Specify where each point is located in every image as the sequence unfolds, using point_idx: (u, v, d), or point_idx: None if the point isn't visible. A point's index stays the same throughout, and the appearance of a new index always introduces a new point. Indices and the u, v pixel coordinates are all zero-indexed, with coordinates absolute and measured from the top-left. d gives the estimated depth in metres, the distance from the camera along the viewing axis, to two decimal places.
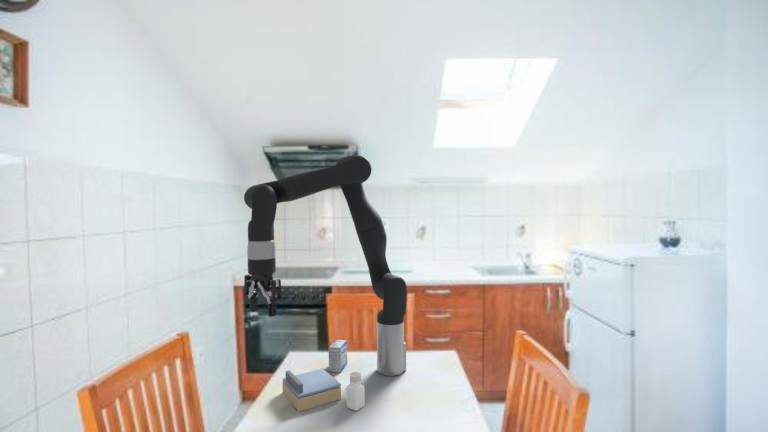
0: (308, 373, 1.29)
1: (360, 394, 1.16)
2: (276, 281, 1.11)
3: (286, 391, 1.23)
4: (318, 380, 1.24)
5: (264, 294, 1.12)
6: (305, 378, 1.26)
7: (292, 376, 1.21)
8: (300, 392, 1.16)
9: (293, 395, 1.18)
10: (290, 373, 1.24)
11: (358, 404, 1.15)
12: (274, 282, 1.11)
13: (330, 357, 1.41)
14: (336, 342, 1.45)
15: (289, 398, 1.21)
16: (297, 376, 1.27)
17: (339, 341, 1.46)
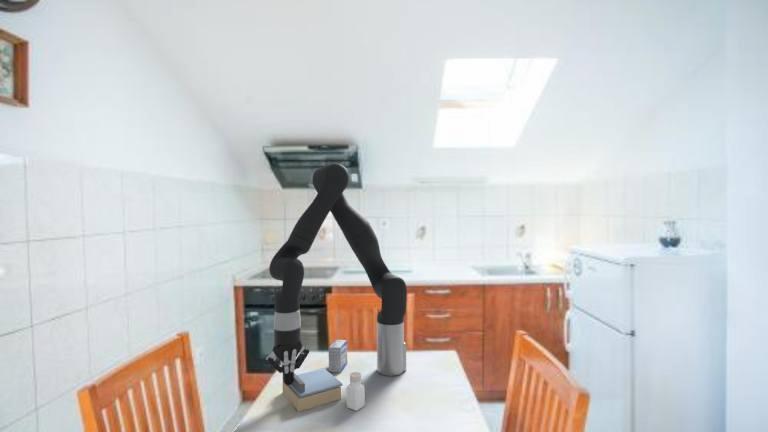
0: (310, 373, 1.30)
1: (360, 394, 1.16)
2: None
3: (286, 391, 1.23)
4: (320, 380, 1.25)
5: (293, 362, 1.19)
6: (307, 378, 1.26)
7: (294, 376, 1.22)
8: (302, 391, 1.17)
9: (293, 395, 1.18)
10: None
11: (358, 404, 1.15)
12: None
13: (330, 357, 1.41)
14: (336, 342, 1.45)
15: (289, 398, 1.21)
16: (299, 376, 1.27)
17: (339, 341, 1.46)
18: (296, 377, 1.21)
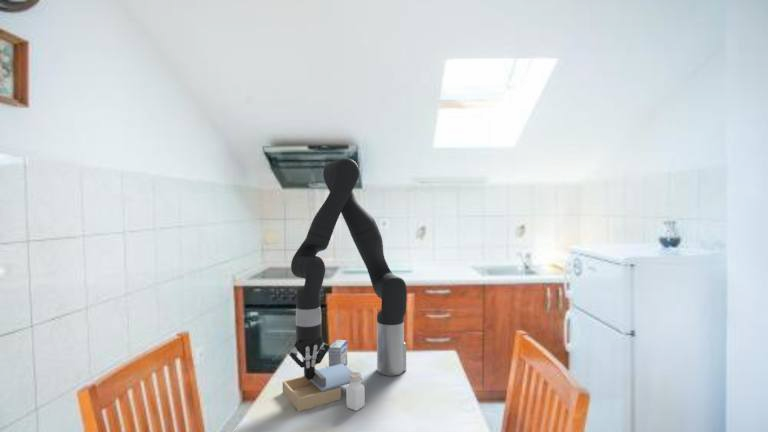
0: (329, 368, 1.33)
1: (360, 394, 1.16)
2: None
3: (286, 391, 1.23)
4: (339, 374, 1.28)
5: (314, 357, 1.22)
6: (327, 373, 1.29)
7: (315, 370, 1.25)
8: (323, 386, 1.20)
9: (293, 395, 1.18)
10: None
11: (358, 404, 1.15)
12: None
13: (330, 357, 1.41)
14: (336, 342, 1.45)
15: (289, 398, 1.21)
16: (318, 371, 1.31)
17: (339, 341, 1.46)
18: (317, 372, 1.24)
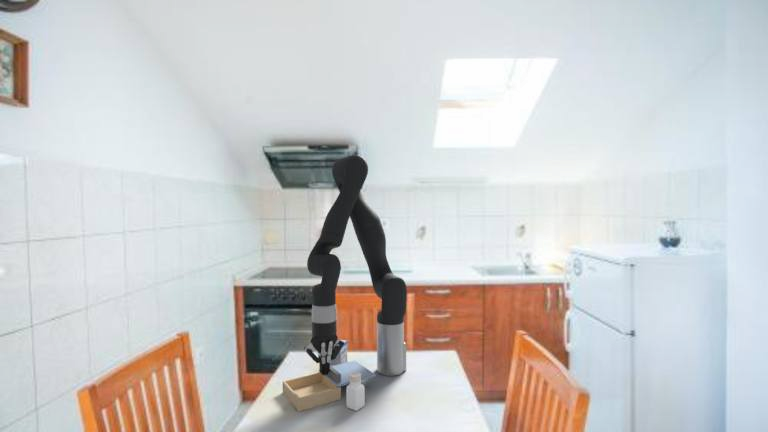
0: (342, 364, 1.36)
1: (360, 394, 1.16)
2: None
3: (286, 391, 1.23)
4: (353, 371, 1.31)
5: (330, 353, 1.25)
6: (341, 369, 1.32)
7: None
8: (338, 382, 1.23)
9: (293, 395, 1.18)
10: None
11: (358, 404, 1.15)
12: None
13: None
14: None
15: (289, 398, 1.21)
16: (332, 367, 1.34)
17: None
18: (331, 368, 1.27)
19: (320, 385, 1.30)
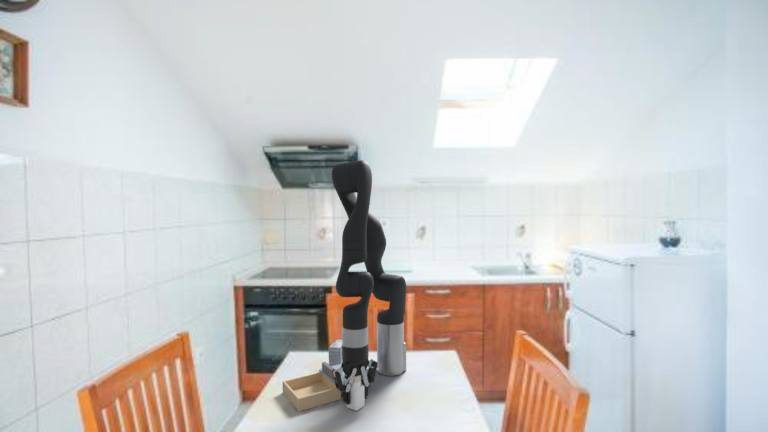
0: None
1: (360, 394, 1.16)
2: None
3: (286, 391, 1.23)
4: None
5: (365, 378, 1.17)
6: None
7: (329, 367, 1.28)
8: None
9: (293, 395, 1.18)
10: (327, 364, 1.30)
11: (358, 404, 1.15)
12: None
13: (330, 357, 1.41)
14: (336, 342, 1.45)
15: (289, 398, 1.21)
16: (332, 367, 1.34)
17: (339, 341, 1.46)
18: (331, 368, 1.27)
19: (320, 385, 1.30)
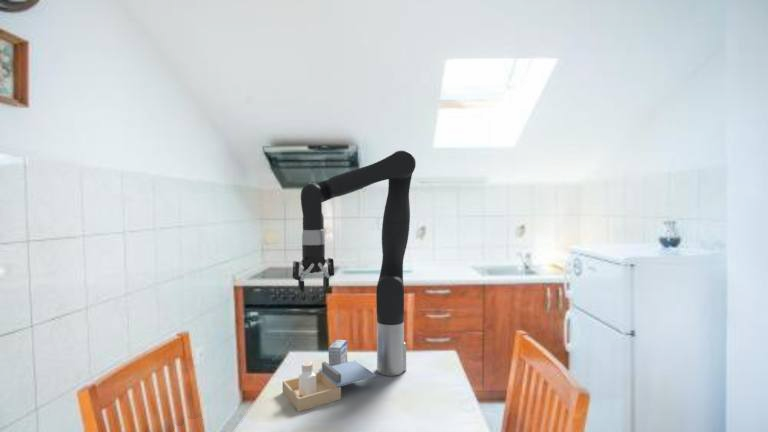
0: (342, 364, 1.36)
1: (311, 382, 1.22)
2: None
3: (286, 391, 1.23)
4: (353, 371, 1.31)
5: (325, 271, 1.41)
6: (341, 369, 1.32)
7: (329, 367, 1.28)
8: (338, 382, 1.23)
9: (293, 395, 1.18)
10: (327, 364, 1.30)
11: (308, 392, 1.21)
12: None
13: (330, 357, 1.41)
14: (336, 342, 1.45)
15: (289, 398, 1.21)
16: (332, 367, 1.34)
17: (339, 341, 1.46)
18: (331, 368, 1.27)
19: (320, 385, 1.30)
